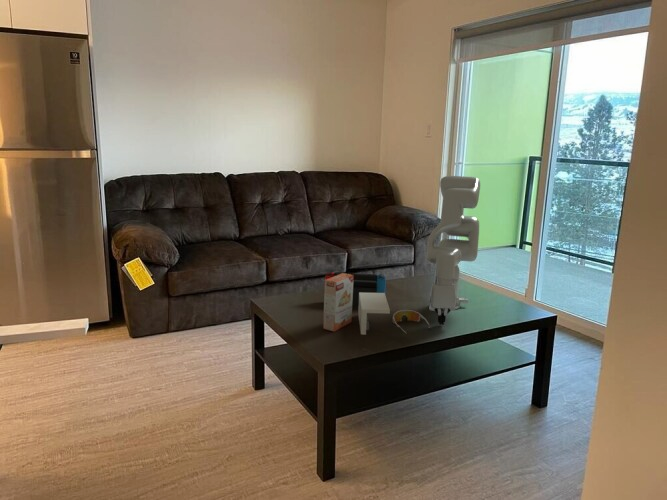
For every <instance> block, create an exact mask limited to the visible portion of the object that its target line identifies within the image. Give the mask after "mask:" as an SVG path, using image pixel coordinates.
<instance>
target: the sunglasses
mask: <svg viewBox="0 0 667 500" xmlns="http://www.w3.org/2000/svg"><path fill="white" fill-rule="evenodd" d="M404 318H405V320H406V321H413V322H420V320H422V319H423V320H424V321H425V322H426V324H427V325H428V327H430V323H429V322H428V320H427V319H426V317H424V316H423V315H422V314H421V313H420V312H418V311H416V310H412V309H401V310H398V311H396V312H394V313H393V315H392V324H395V326H396V327H398V329H399V330H401V331H402V332H403V333H404V334H407V332H406V331H405V330H404V329H403V328H402V327H401V326H400V325H399V324H398V322H402V321H403V320H404Z"/></svg>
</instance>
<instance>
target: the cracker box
mask: <svg viewBox="0 0 667 500" xmlns="http://www.w3.org/2000/svg"><path fill="white" fill-rule="evenodd" d="M341 273H342V274H339V275H337V276H334V277H332V278H329V279H327V280H325V279H324V292H323V293H324V297H323V325H322V326H323V328H322V329H323V330H326V331H331V332H336V331H338V330H340V329H342V328H344V327H345V326H347V325H350V324H351V323H352V320H353V319H352V317H353V306H352V300H353V279H354V275H350V274H345V273H346V272H341Z"/></svg>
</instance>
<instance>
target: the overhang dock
mask: <svg viewBox="0 0 667 500" xmlns="http://www.w3.org/2000/svg"><path fill="white" fill-rule="evenodd" d="M390 311H391V309H390V306H389V303H388V299H387V297H386V292H385V293H359V306H358V314H357V315H358V316H357V317H358V321H359V322H358V323H359V330H360V335H363V336H364V335H367V331H370V320H369V318H368V317H369V316H368V315H369V314H391V312H390Z"/></svg>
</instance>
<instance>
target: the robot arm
mask: <svg viewBox="0 0 667 500" xmlns="http://www.w3.org/2000/svg"><path fill="white" fill-rule="evenodd" d="M439 186H440V187H439V188H440V192H441V196H442V207H441V215H440V221H439V224H438V225H436V227H434V228H433V230H431V233H430V234H429V236H428V239H427V247H426V261H427V262H428V263H429V264H431V265H435V273H434V274H435V275H434V282H432V284H431V289H430V294H429V308H428V309H429V310H430V311H433V312H435V313H436V314H437V319H436V320H437V323H438V324H439V325H442V326H443V325H445V323H446V319H447V317H446V316H447V315H448V314H449V313H450V312H454V311H456V310H457V309H460V308H461V304H468V303H469V299H468V298H464V297H460V296H459V285H460V284H459V282H460V273H461V272H460V267H459V264H460V263H461V262H470V263H471V262H474V261H476V259H477V257H478V251H479V239H480V238H479V237H480V221H479V219H478V218H477V217H476V216H469V215H464V210H465V209H472V210H473V209H475V208H476V207H477V206H478V203H479V200H480V199H479V197H480V190H481V181H480V179H479V178H478V177H476V176H462V175H447V176H443V177H442V178H441V179H440V181H439ZM443 233H444V234H445V235H446V236H449V237H461V238H466V239H456V238H455V239H454V238H444V239H441V240H440V241H439V243H438V246H436V245H435V243H436V239H437V238H438V237H439V236H440V235H442V234H443Z"/></svg>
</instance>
